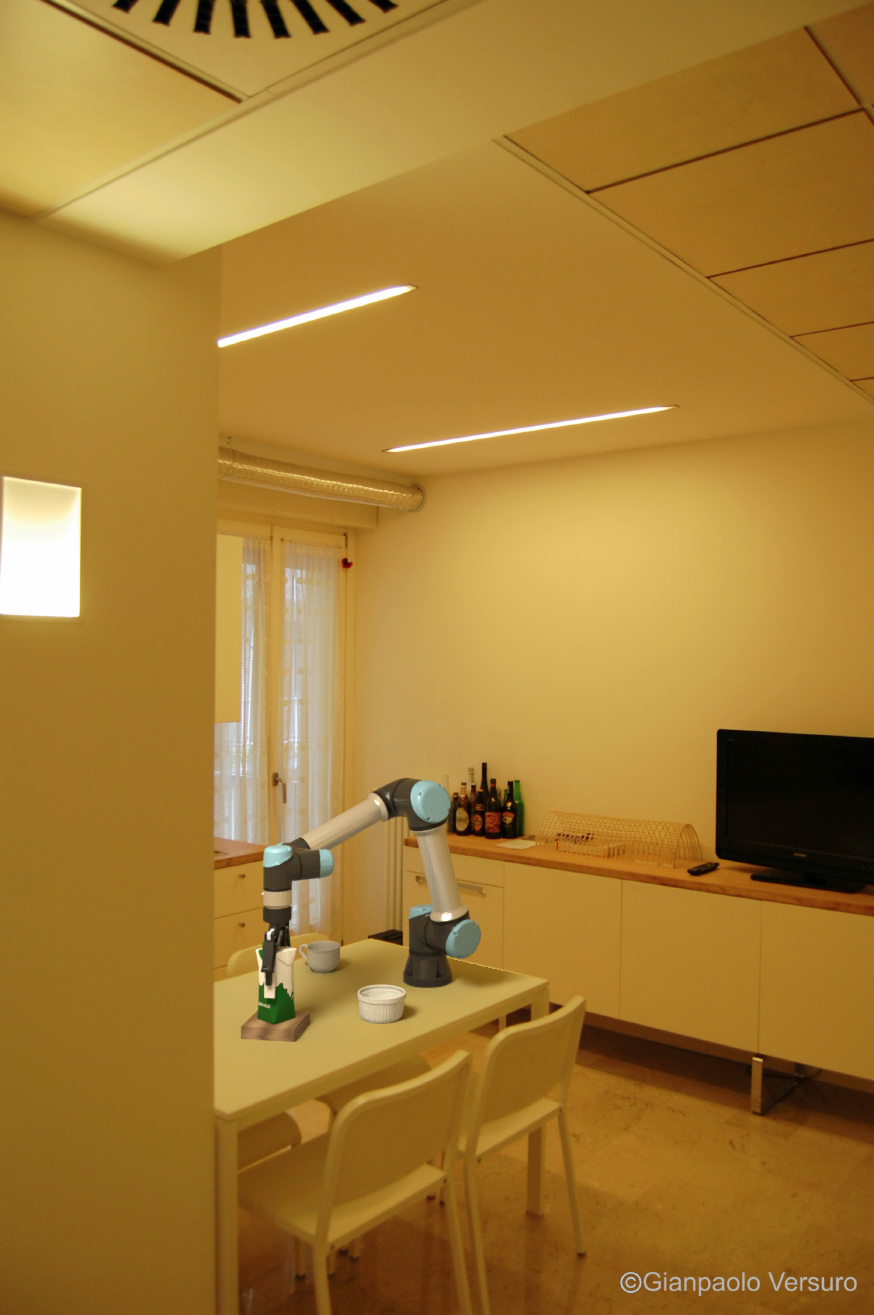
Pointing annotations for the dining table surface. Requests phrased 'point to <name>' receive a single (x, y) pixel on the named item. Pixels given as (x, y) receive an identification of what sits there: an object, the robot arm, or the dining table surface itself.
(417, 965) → the robot arm
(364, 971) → the dining table surface
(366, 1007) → the ramekin
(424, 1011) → the dining table surface
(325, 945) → the teacup
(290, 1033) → the plinth
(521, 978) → the dining table surface
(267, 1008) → the soya milk
